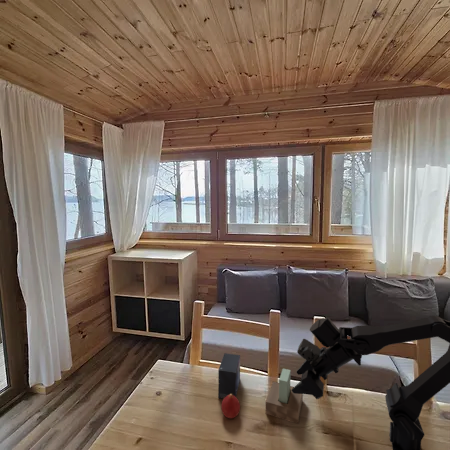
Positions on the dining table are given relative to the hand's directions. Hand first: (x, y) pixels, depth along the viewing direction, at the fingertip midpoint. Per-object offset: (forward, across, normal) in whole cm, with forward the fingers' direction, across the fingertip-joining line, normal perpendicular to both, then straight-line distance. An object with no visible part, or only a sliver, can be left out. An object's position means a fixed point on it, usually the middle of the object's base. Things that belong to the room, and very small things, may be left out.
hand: (295, 381), depth 84 cm
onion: (+20, +10, -5) cm, 23 cm away
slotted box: (+10, 0, +5) cm, 11 cm away
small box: (+24, -2, -8) cm, 26 cm away
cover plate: (+9, 0, +4) cm, 10 cm away
